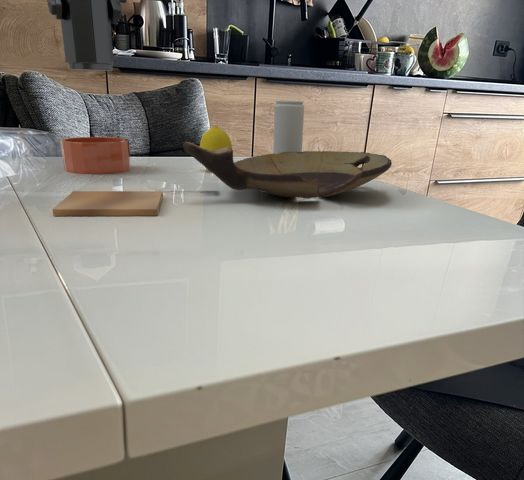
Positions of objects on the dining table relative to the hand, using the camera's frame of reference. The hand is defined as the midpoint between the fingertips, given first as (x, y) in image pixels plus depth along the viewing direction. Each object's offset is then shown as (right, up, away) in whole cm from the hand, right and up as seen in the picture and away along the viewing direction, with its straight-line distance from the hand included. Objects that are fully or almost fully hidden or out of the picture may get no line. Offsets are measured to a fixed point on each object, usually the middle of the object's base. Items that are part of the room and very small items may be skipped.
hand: (88, 16), depth 73 cm
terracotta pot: (-5, -15, +20) cm, 25 cm away
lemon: (+15, -15, +22) cm, 30 cm away
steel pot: (-1, -5, +4) cm, 7 cm away
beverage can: (+27, -15, +21) cm, 38 cm away
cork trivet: (+4, -26, -3) cm, 27 cm away
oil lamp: (+27, -22, +7) cm, 36 cm away
